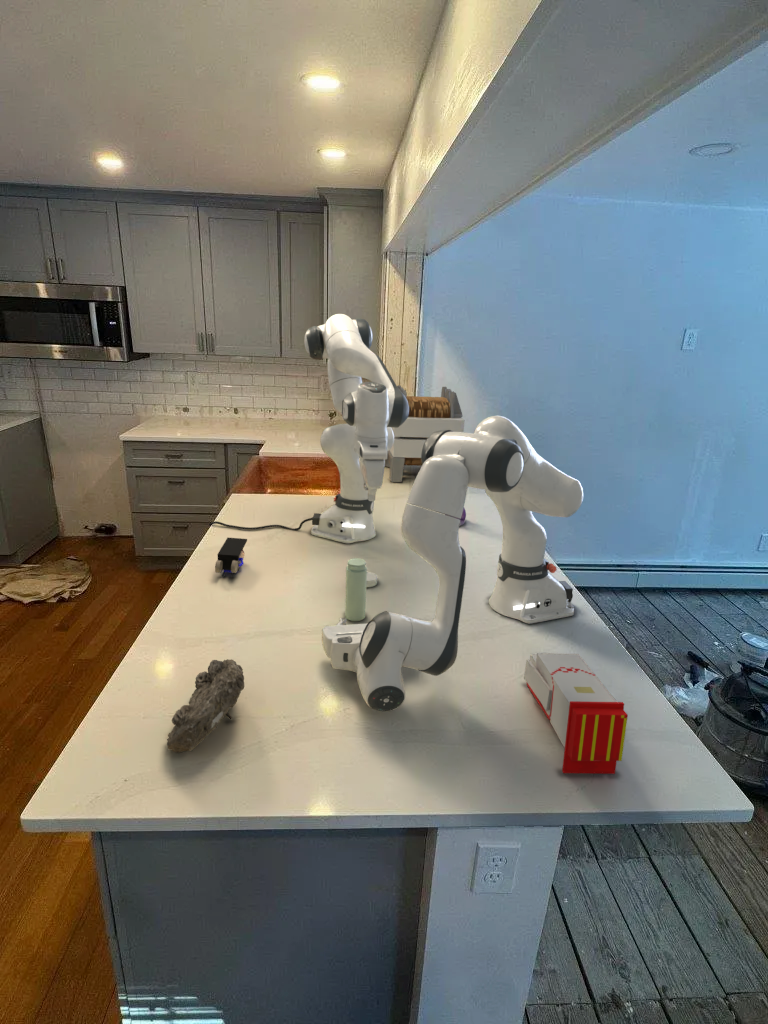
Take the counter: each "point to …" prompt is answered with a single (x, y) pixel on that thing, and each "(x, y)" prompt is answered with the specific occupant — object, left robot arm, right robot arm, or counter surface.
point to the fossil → (206, 705)
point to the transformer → (422, 428)
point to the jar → (355, 589)
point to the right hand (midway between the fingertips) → (362, 619)
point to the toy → (578, 711)
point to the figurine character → (230, 556)
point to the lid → (371, 579)
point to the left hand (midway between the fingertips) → (369, 494)
